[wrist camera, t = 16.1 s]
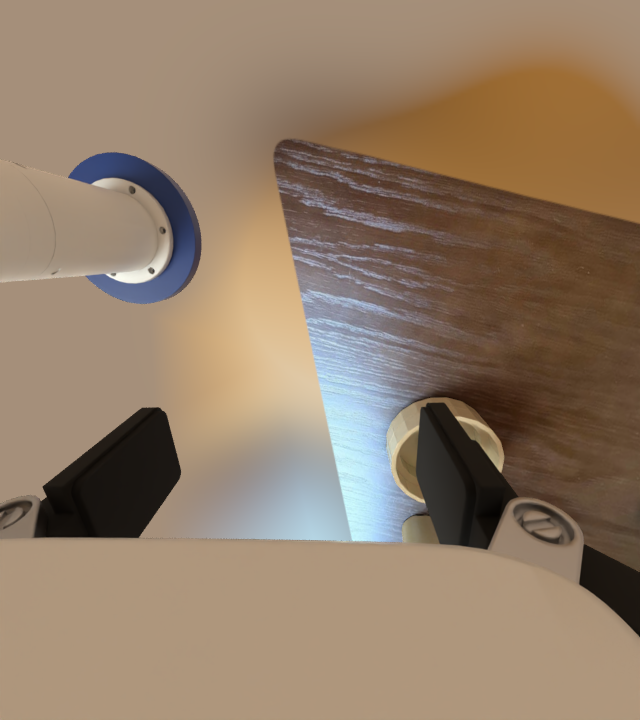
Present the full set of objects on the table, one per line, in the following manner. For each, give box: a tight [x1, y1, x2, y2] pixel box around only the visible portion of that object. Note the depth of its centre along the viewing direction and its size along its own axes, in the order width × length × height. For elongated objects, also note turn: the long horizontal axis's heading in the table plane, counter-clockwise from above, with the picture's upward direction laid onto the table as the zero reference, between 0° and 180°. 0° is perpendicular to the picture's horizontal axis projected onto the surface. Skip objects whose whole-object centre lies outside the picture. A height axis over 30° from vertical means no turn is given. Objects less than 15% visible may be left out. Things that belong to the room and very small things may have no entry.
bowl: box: [386, 397, 504, 503], centre depth 41 cm, size 14×14×6 cm
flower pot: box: [402, 515, 440, 544], centre depth 46 cm, size 9×9×9 cm
